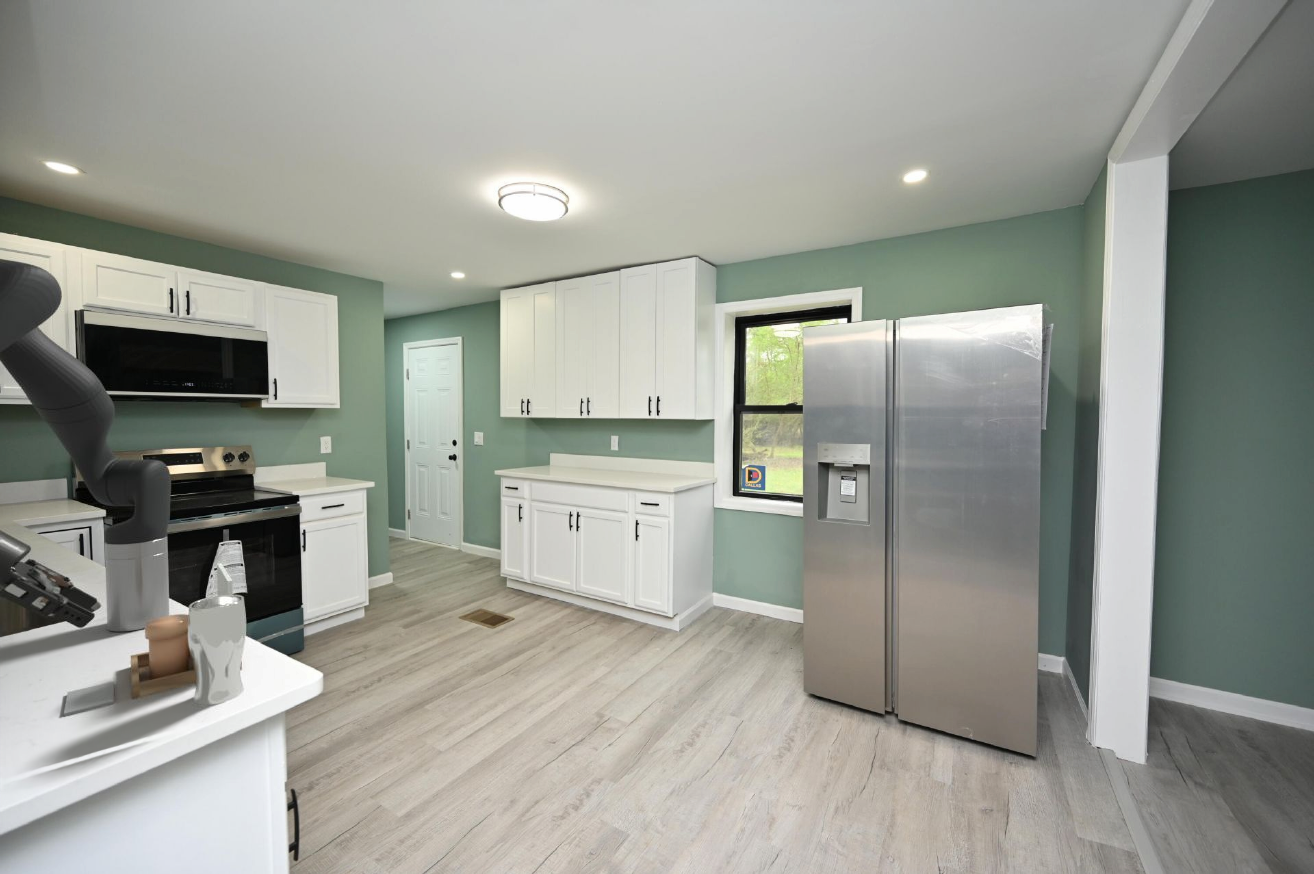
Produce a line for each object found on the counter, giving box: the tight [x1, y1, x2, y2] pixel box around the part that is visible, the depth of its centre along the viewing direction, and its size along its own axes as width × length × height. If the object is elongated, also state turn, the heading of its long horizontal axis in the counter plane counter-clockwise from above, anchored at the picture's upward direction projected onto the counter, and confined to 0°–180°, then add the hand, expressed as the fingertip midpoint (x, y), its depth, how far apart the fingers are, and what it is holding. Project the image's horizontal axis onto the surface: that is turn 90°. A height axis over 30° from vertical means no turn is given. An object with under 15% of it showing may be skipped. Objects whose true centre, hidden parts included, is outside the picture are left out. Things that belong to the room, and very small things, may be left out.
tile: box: [63, 681, 115, 717], centre depth 83 cm, size 8×5×1 cm, turn 44°
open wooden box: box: [130, 646, 243, 700], centre depth 92 cm, size 14×13×12 cm
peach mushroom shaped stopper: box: [144, 613, 189, 680], centre depth 90 cm, size 6×6×9 cm
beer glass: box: [187, 594, 247, 707], centre depth 84 cm, size 7×7×15 cm
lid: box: [216, 562, 234, 596], centre depth 96 cm, size 14×1×9 cm, turn 44°
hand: (90, 613), depth 84 cm, fingers open, 8 cm apart
